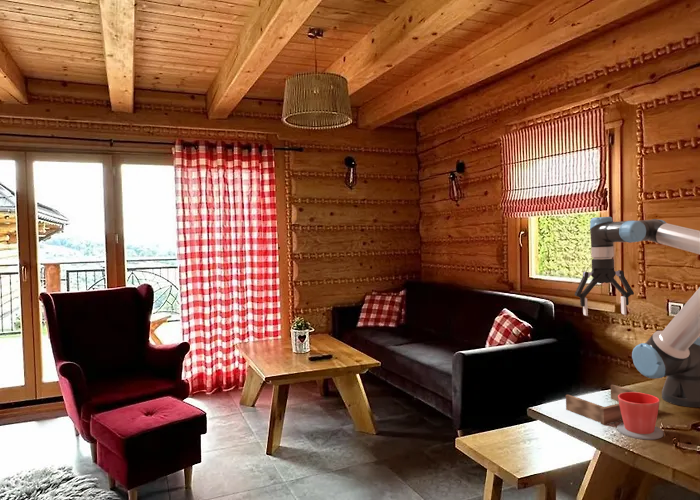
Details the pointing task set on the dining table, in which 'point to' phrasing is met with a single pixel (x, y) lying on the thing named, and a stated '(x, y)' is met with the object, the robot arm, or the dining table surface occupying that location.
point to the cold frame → (598, 407)
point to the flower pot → (639, 411)
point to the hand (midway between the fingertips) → (604, 314)
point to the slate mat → (655, 435)
